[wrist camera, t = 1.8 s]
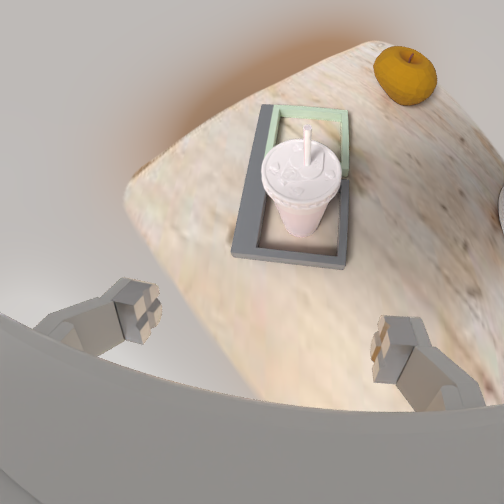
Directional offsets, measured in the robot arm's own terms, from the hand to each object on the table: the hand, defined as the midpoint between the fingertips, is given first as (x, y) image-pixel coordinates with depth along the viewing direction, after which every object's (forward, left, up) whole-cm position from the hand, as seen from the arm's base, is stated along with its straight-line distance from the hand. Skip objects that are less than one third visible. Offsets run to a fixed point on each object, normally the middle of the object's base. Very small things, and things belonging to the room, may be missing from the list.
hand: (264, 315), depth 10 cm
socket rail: (0, -18, -18) cm, 26 cm away
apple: (-13, -34, -19) cm, 41 cm away
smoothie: (0, -12, -19) cm, 22 cm away
